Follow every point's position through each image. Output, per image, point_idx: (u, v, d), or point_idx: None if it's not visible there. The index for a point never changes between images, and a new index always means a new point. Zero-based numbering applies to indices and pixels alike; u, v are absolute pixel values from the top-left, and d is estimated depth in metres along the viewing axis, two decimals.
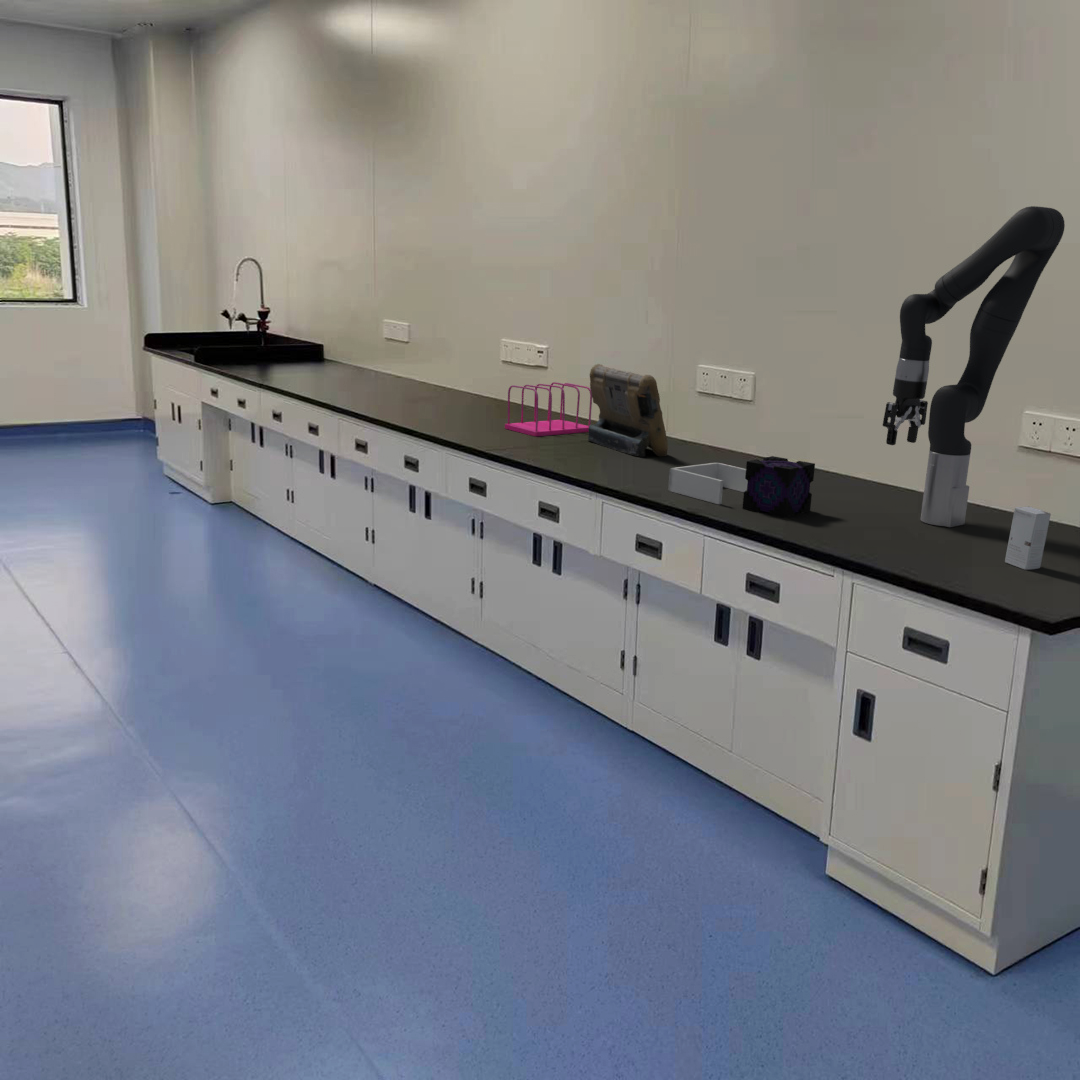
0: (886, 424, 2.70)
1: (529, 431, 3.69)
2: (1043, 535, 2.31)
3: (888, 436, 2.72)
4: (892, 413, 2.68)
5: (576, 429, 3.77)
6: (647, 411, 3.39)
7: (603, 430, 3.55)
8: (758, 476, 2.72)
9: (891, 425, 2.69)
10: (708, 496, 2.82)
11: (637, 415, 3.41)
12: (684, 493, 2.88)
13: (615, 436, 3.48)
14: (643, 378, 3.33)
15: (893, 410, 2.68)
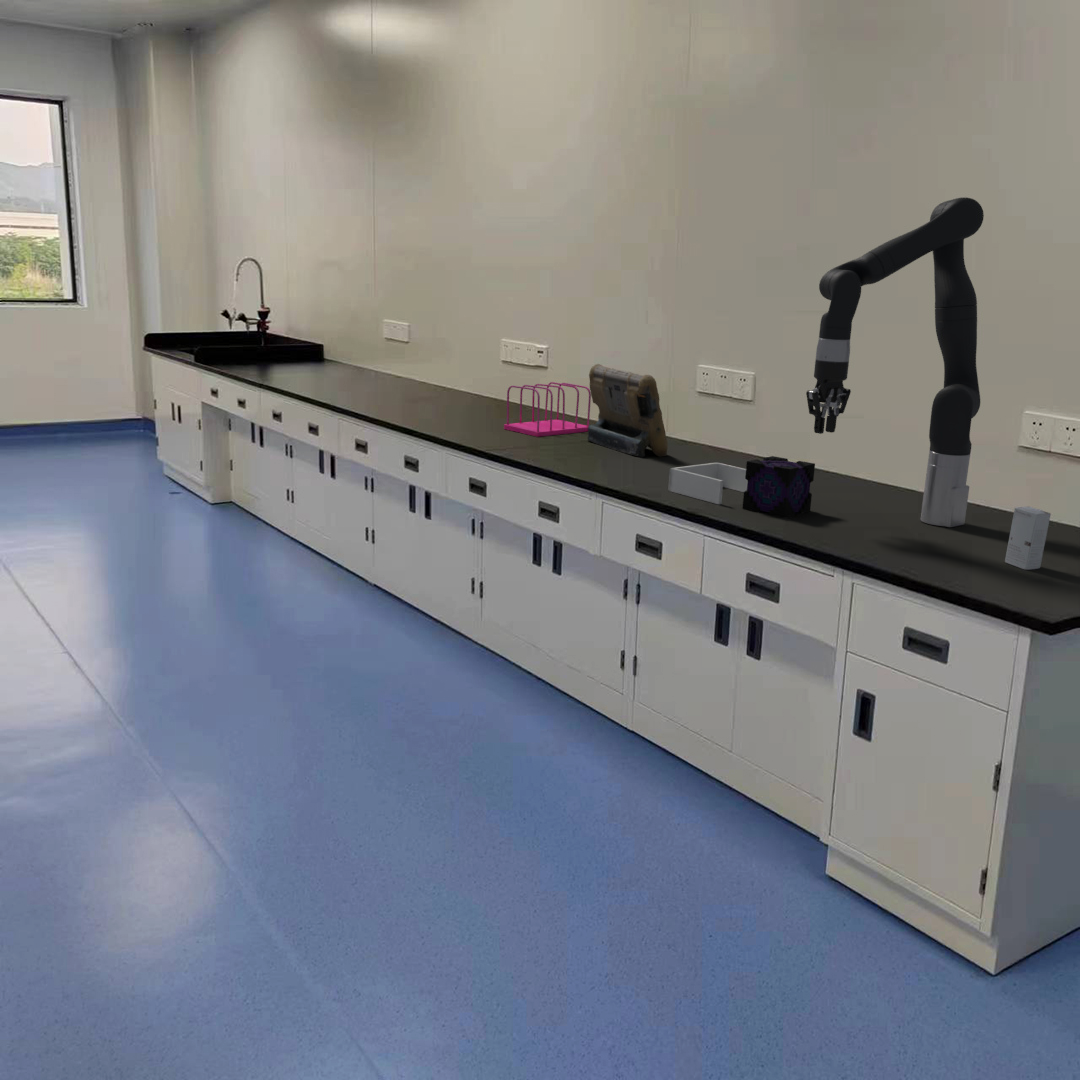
0: (812, 412, 2.58)
1: (530, 431, 3.69)
2: (1043, 535, 2.31)
3: (815, 424, 2.60)
4: (814, 402, 2.56)
5: (576, 429, 3.78)
6: (647, 411, 3.39)
7: (603, 430, 3.55)
8: (758, 476, 2.72)
9: (817, 413, 2.57)
10: (708, 496, 2.82)
11: (637, 415, 3.41)
12: (684, 493, 2.88)
13: (615, 436, 3.48)
14: (643, 378, 3.32)
15: (814, 399, 2.55)
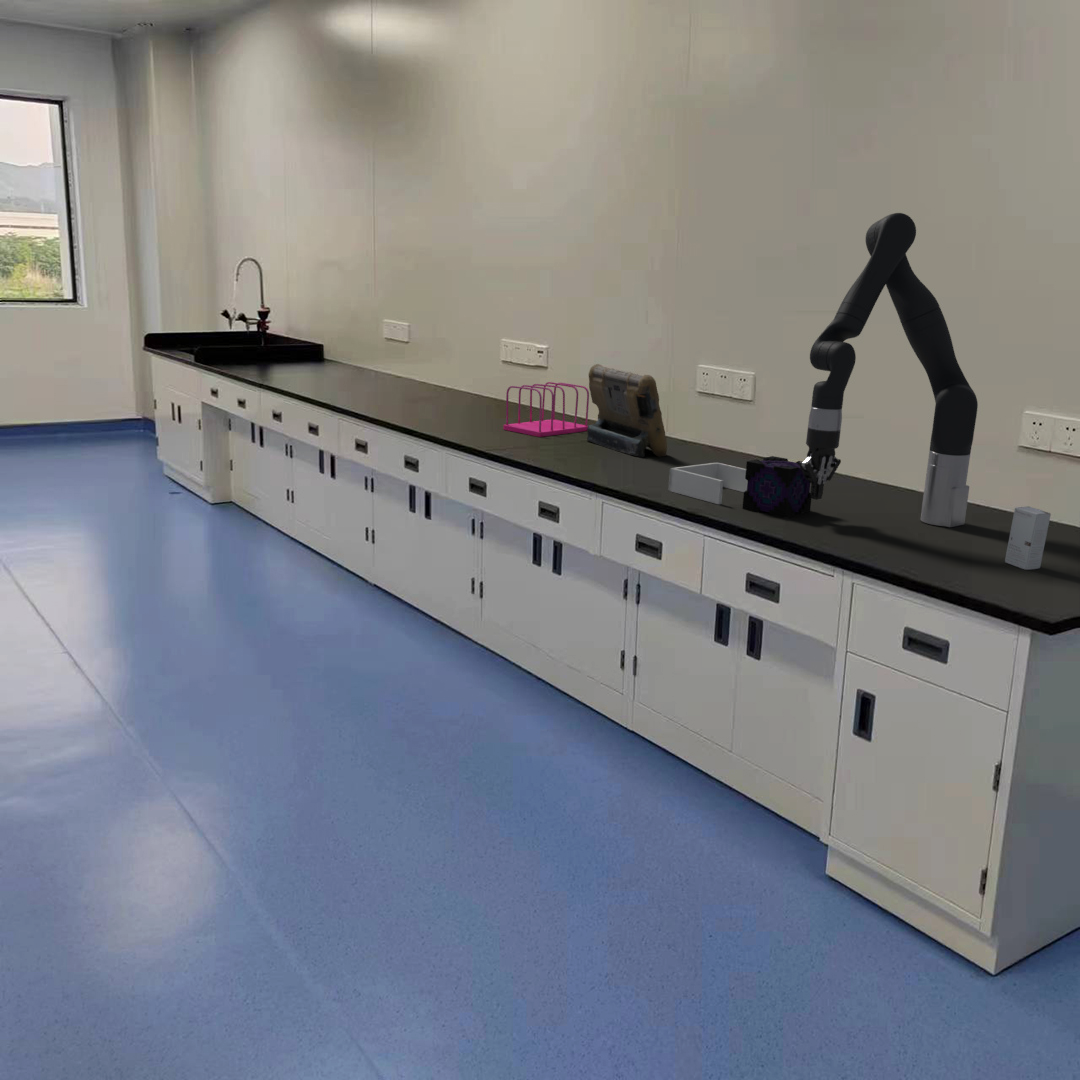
0: (809, 480, 2.63)
1: (532, 432, 3.68)
2: (1043, 535, 2.30)
3: (812, 490, 2.65)
4: (808, 472, 2.61)
5: (575, 428, 3.78)
6: (646, 411, 3.39)
7: (602, 430, 3.55)
8: (758, 476, 2.72)
9: (814, 480, 2.62)
10: (708, 496, 2.82)
11: (636, 415, 3.41)
12: (684, 493, 2.88)
13: (614, 436, 3.48)
14: (642, 378, 3.32)
15: (808, 470, 2.60)
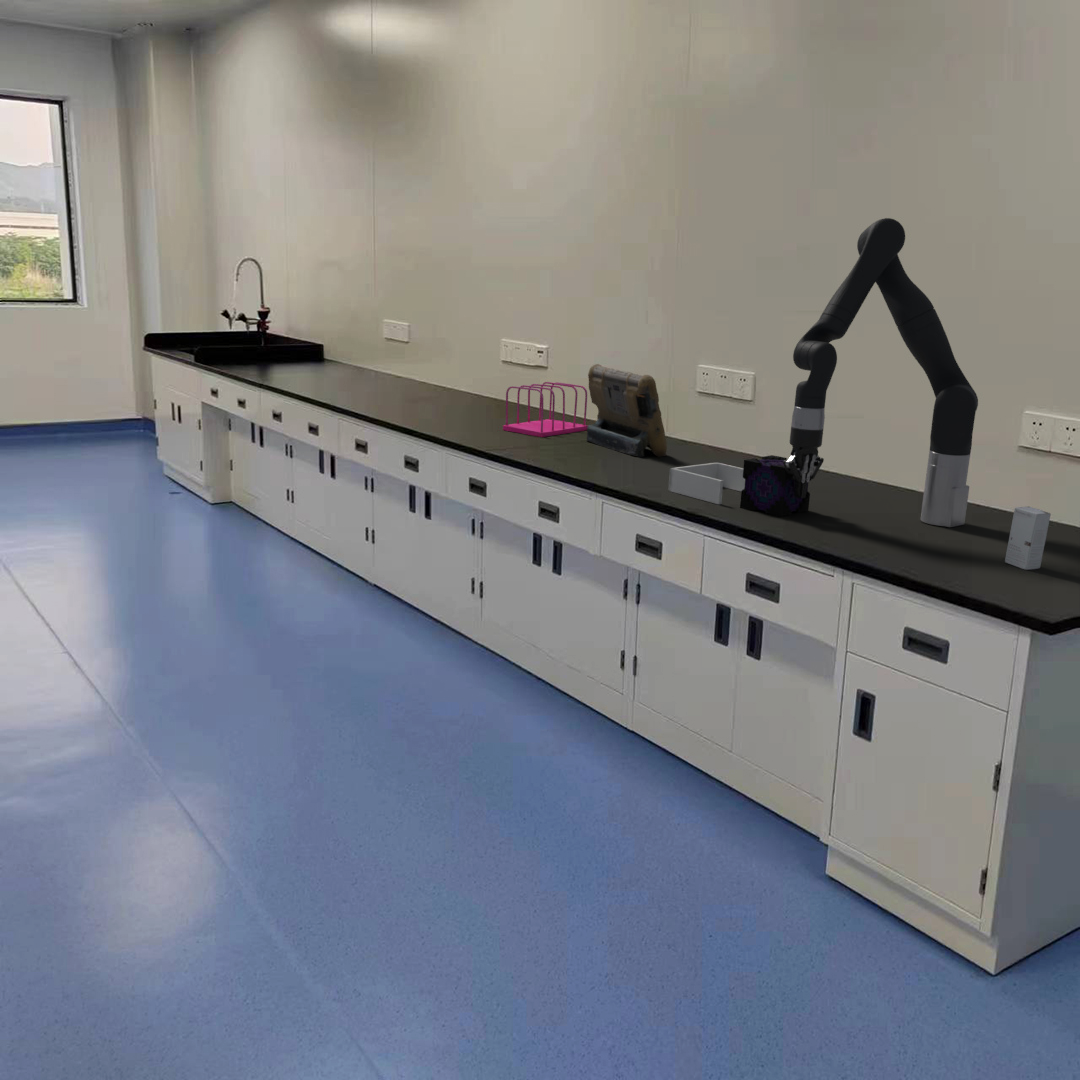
0: (793, 478, 2.66)
1: (534, 432, 3.68)
2: (1043, 535, 2.31)
3: (795, 489, 2.68)
4: (792, 471, 2.64)
5: (574, 428, 3.79)
6: (646, 411, 3.39)
7: (602, 430, 3.55)
8: (755, 474, 2.73)
9: (797, 479, 2.66)
10: (708, 496, 2.82)
11: (636, 415, 3.41)
12: (684, 493, 2.88)
13: (614, 436, 3.48)
14: (642, 378, 3.32)
15: (792, 468, 2.63)
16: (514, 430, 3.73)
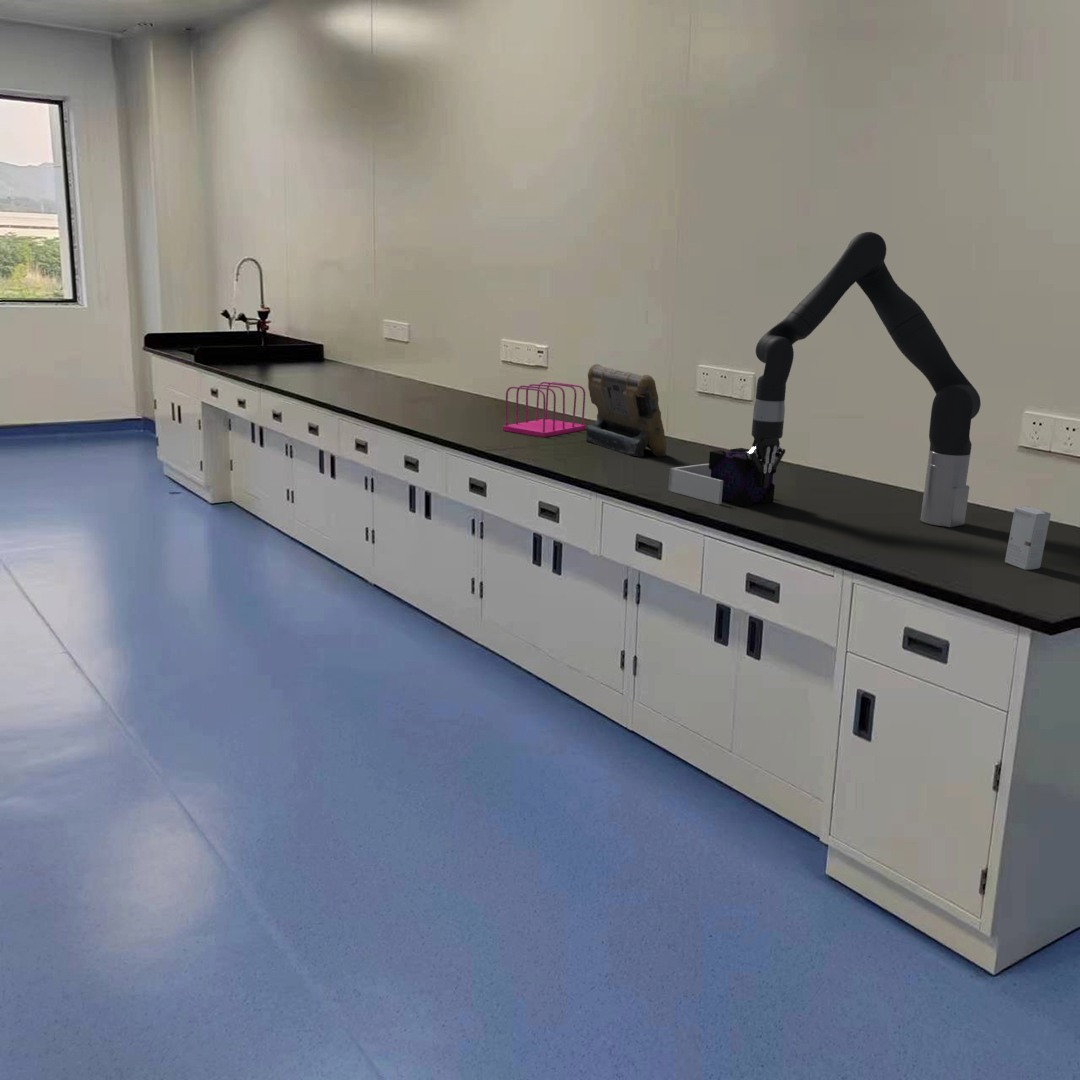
0: (755, 469, 2.76)
1: (535, 432, 3.68)
2: (1043, 535, 2.31)
3: (758, 479, 2.77)
4: (754, 461, 2.73)
5: (574, 428, 3.79)
6: (646, 411, 3.39)
7: (601, 430, 3.54)
8: (720, 465, 2.82)
9: (759, 470, 2.75)
10: (708, 496, 2.82)
11: (636, 415, 3.41)
12: (684, 493, 2.88)
13: (613, 436, 3.48)
14: (642, 378, 3.32)
15: (753, 459, 2.73)
16: (515, 430, 3.72)
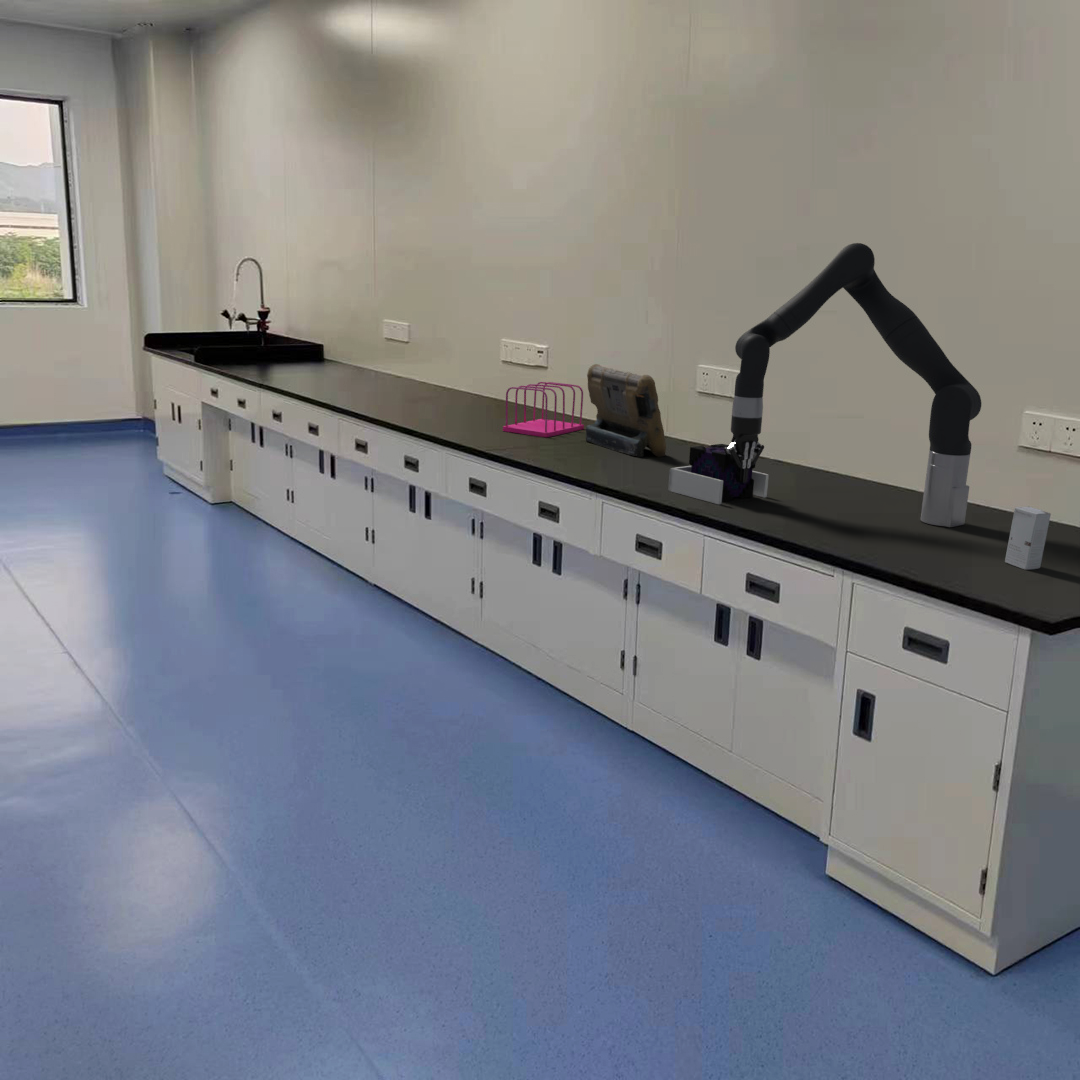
0: (734, 464, 2.81)
1: (537, 432, 3.67)
2: (1043, 535, 2.31)
3: (737, 474, 2.83)
4: (733, 457, 2.78)
5: (573, 428, 3.80)
6: (645, 411, 3.39)
7: (601, 430, 3.54)
8: (700, 461, 2.87)
9: (738, 465, 2.80)
10: (708, 496, 2.82)
11: (635, 415, 3.41)
12: (684, 493, 2.88)
13: (613, 436, 3.48)
14: (641, 378, 3.32)
15: (732, 455, 2.78)
16: (515, 431, 3.72)
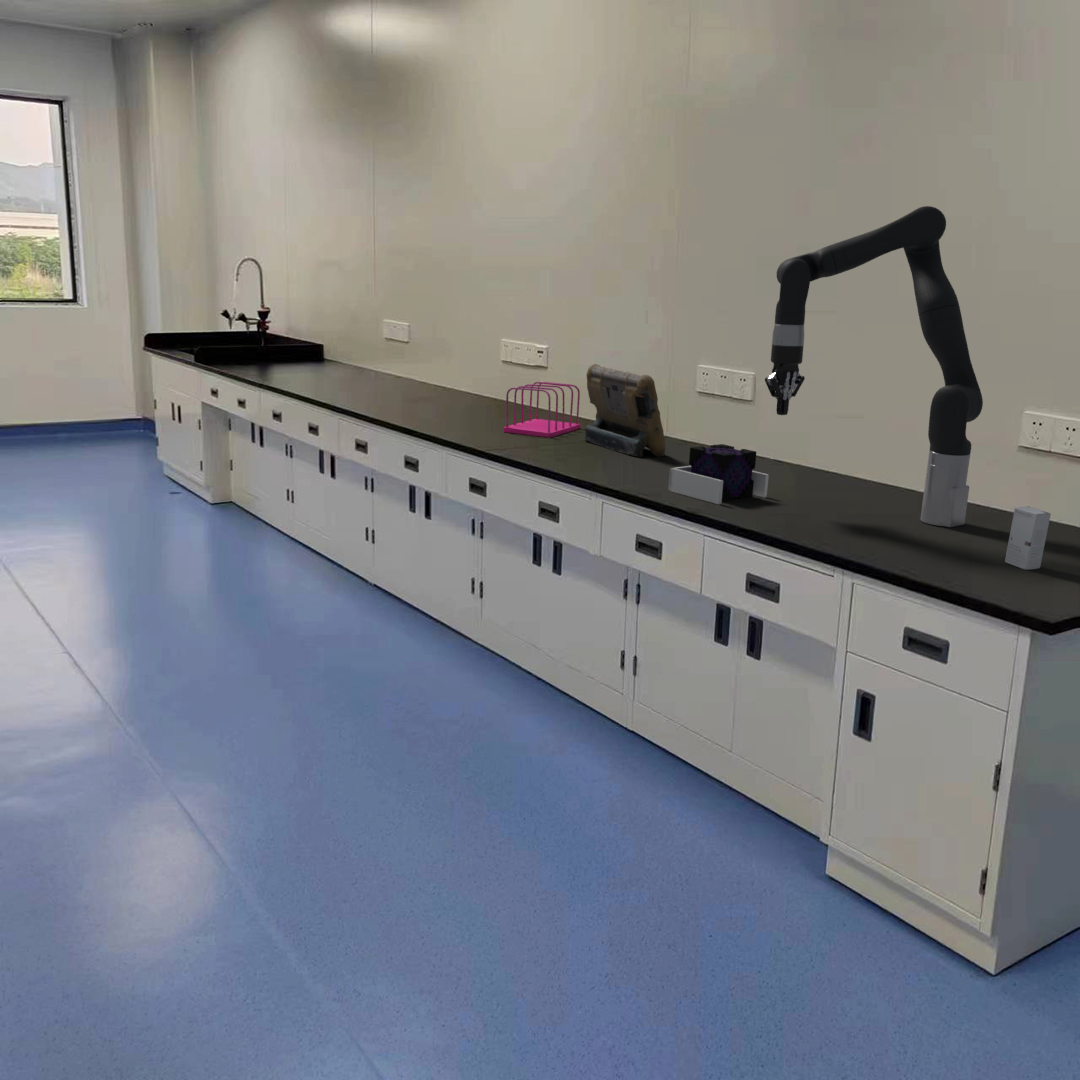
0: (774, 396, 2.72)
1: (540, 433, 3.67)
2: (1043, 535, 2.31)
3: (778, 406, 2.74)
4: (774, 387, 2.69)
5: (571, 427, 3.81)
6: (645, 411, 3.39)
7: (600, 430, 3.54)
8: (700, 461, 2.87)
9: (779, 396, 2.71)
10: (708, 496, 2.82)
11: (635, 415, 3.40)
12: (684, 493, 2.88)
13: (612, 436, 3.48)
14: (641, 378, 3.32)
15: (773, 385, 2.69)
16: (517, 432, 3.70)
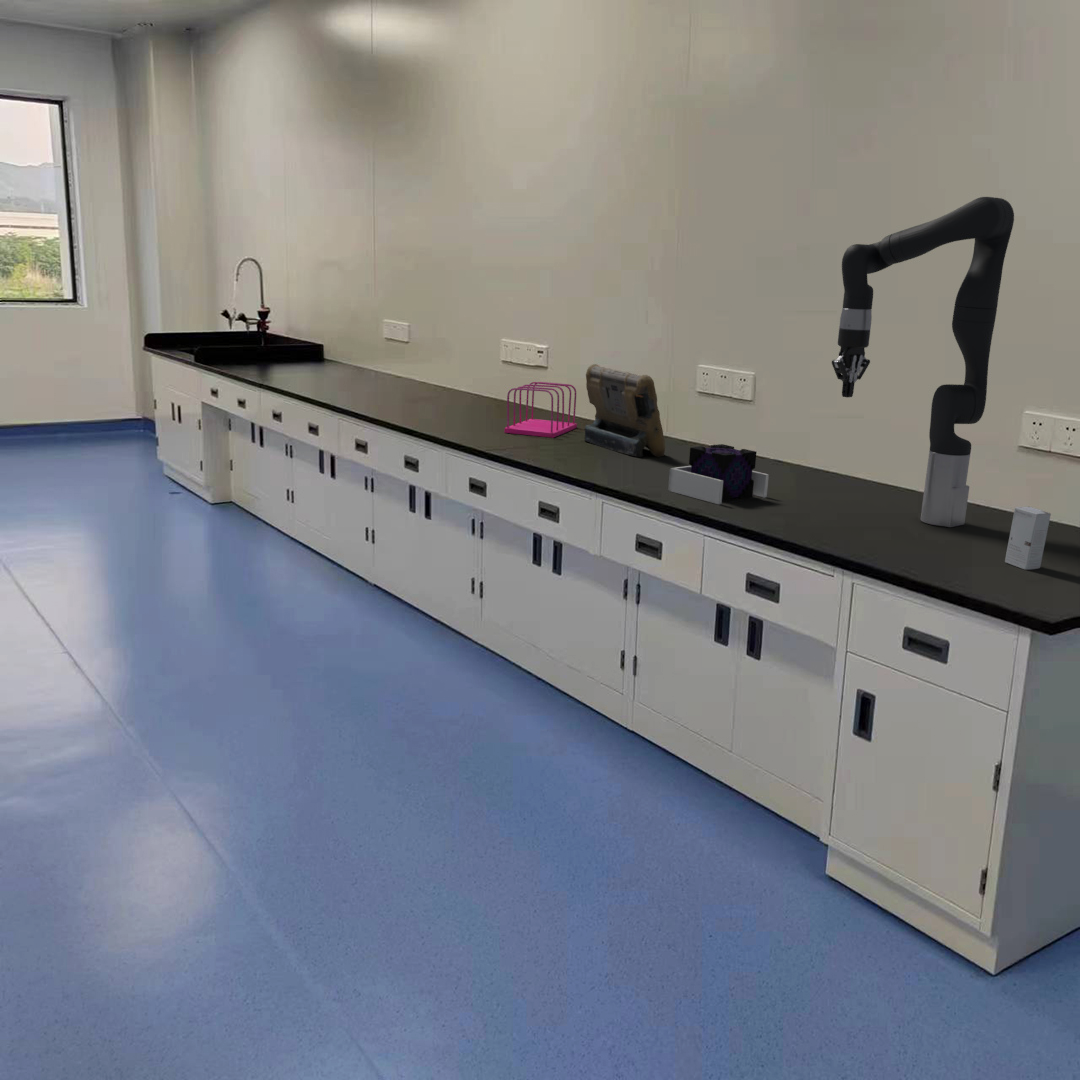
0: (841, 378, 2.79)
1: (543, 433, 3.67)
2: (1043, 535, 2.31)
3: (843, 388, 2.81)
4: (841, 370, 2.77)
5: (570, 427, 3.81)
6: (644, 411, 3.39)
7: (600, 430, 3.54)
8: (700, 461, 2.87)
9: (845, 378, 2.78)
10: (708, 496, 2.82)
11: (634, 415, 3.40)
12: (684, 493, 2.88)
13: (612, 436, 3.47)
14: (640, 378, 3.32)
15: (840, 367, 2.76)
16: (519, 432, 3.69)
